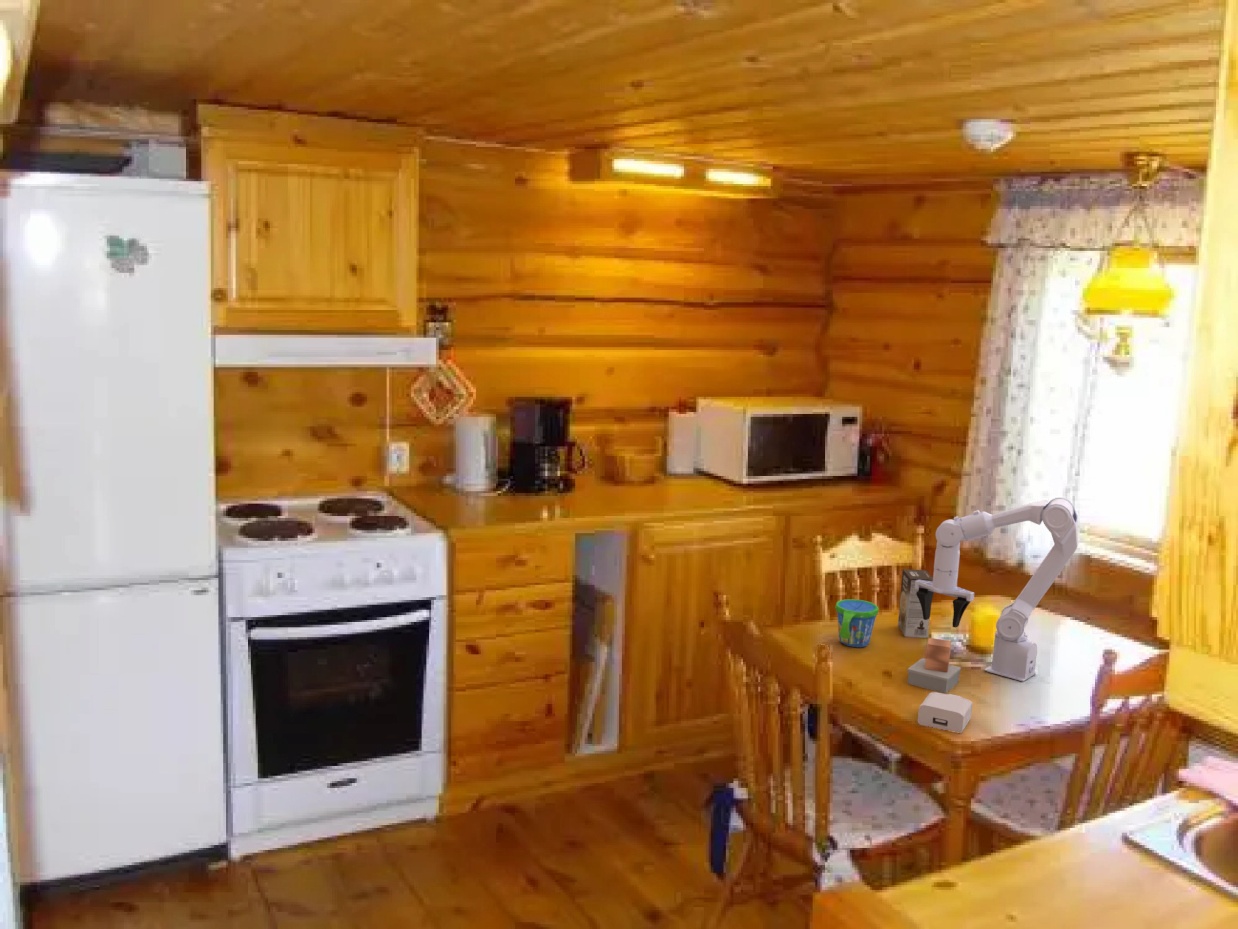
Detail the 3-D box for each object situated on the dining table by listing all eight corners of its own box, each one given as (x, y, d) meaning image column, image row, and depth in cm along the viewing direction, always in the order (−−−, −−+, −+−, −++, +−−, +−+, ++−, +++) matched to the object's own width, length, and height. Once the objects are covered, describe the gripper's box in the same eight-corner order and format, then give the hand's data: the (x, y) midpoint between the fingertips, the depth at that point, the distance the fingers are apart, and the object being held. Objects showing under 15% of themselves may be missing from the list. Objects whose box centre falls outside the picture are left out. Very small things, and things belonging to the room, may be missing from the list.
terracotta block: (948, 665, 260) (951, 641, 259) (947, 672, 255) (949, 647, 254) (926, 662, 261) (929, 637, 260) (924, 668, 257) (927, 644, 256)
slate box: (959, 683, 260) (961, 667, 259) (946, 695, 252) (947, 678, 251) (920, 674, 265) (922, 658, 264) (906, 685, 257) (907, 668, 256)
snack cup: (859, 656, 274) (862, 616, 272) (821, 646, 281) (823, 607, 279) (886, 641, 286) (889, 603, 284) (849, 631, 293) (852, 594, 291)
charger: (976, 711, 243) (961, 735, 230) (934, 702, 247) (917, 725, 234) (978, 691, 242) (964, 714, 229) (936, 681, 246) (919, 704, 234)
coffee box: (896, 626, 299) (901, 568, 296) (920, 627, 299) (925, 569, 296) (904, 637, 290) (909, 578, 287) (929, 638, 290) (934, 579, 287)
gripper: (911, 565, 272) (906, 619, 274) (967, 578, 262) (961, 633, 265) (924, 560, 277) (919, 613, 280) (979, 573, 268) (974, 627, 270)
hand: (940, 622), depth 273 cm, fingers open, 7 cm apart
